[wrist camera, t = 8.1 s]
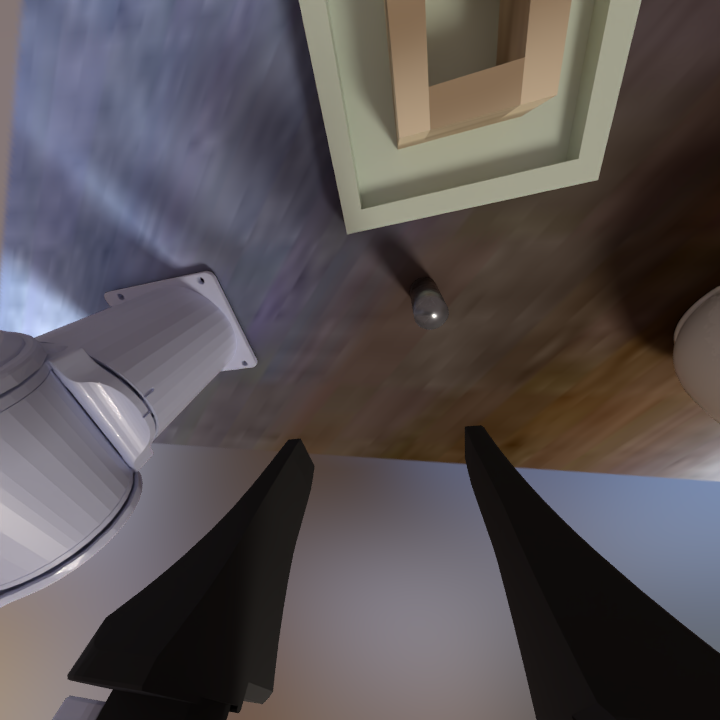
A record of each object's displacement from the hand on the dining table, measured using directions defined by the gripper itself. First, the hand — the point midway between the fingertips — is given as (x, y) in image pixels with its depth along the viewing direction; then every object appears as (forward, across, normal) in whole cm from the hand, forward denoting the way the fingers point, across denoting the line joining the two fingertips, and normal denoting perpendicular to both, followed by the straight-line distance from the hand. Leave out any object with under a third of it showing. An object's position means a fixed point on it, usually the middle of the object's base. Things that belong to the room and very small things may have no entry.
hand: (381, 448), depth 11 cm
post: (+10, -3, -3) cm, 11 cm away
